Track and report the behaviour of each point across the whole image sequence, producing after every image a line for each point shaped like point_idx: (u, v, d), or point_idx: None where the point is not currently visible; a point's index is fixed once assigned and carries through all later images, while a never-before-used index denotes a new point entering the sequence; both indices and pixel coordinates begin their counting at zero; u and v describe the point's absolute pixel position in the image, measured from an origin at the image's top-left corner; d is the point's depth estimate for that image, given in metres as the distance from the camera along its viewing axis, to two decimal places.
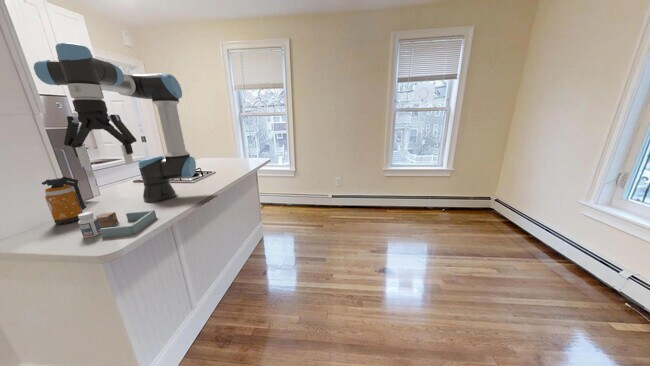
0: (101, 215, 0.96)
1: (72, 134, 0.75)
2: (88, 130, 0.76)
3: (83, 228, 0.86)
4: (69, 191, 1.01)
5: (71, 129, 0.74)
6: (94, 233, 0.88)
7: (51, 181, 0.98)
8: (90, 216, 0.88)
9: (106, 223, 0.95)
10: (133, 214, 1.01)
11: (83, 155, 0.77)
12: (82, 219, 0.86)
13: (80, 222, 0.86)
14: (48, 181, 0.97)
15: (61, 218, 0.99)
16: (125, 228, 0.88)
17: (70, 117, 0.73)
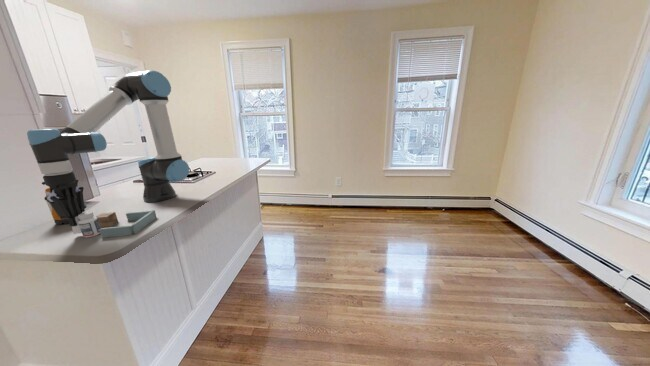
0: (101, 215, 0.96)
1: None
2: None
3: (84, 227, 0.86)
4: None
5: None
6: (94, 232, 0.88)
7: None
8: (90, 216, 0.88)
9: (106, 223, 0.95)
10: (133, 214, 1.01)
11: None
12: (82, 219, 0.86)
13: (80, 221, 0.86)
14: None
15: None
16: (125, 228, 0.88)
17: None
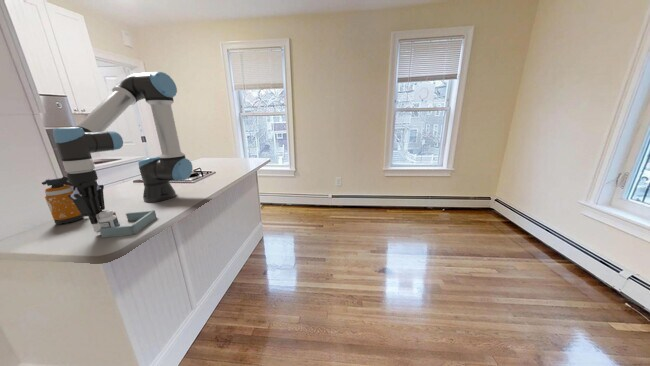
0: None
1: None
2: None
3: (103, 226, 0.87)
4: (69, 191, 1.01)
5: None
6: None
7: (51, 181, 0.98)
8: (110, 215, 0.88)
9: None
10: (133, 214, 1.01)
11: None
12: (102, 217, 0.87)
13: (100, 220, 0.87)
14: (48, 181, 0.97)
15: (61, 218, 0.99)
16: (125, 228, 0.88)
17: None
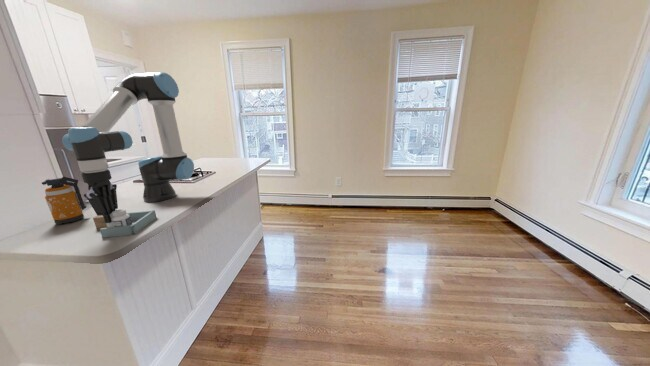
0: (101, 215, 0.96)
1: None
2: None
3: (116, 225, 0.88)
4: (69, 191, 1.01)
5: None
6: None
7: (51, 181, 0.98)
8: (122, 214, 0.89)
9: None
10: (133, 214, 1.01)
11: None
12: (115, 216, 0.88)
13: (113, 218, 0.87)
14: (48, 181, 0.97)
15: (61, 218, 0.99)
16: (125, 228, 0.88)
17: None
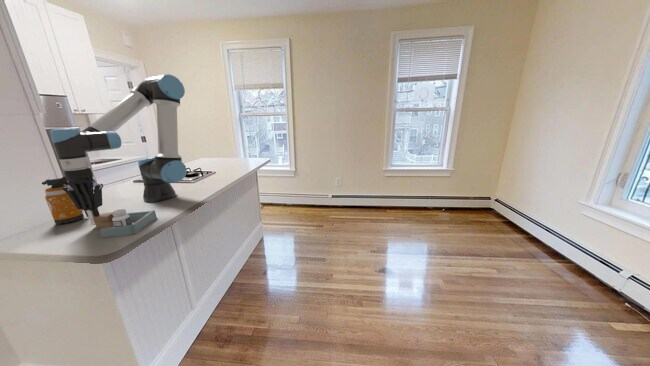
0: (101, 215, 0.96)
1: (76, 199, 0.93)
2: None
3: (116, 225, 0.88)
4: None
5: (72, 196, 0.91)
6: None
7: (51, 181, 0.98)
8: (122, 214, 0.89)
9: (107, 223, 0.95)
10: (133, 214, 1.01)
11: None
12: (115, 216, 0.88)
13: (113, 219, 0.87)
14: (48, 181, 0.97)
15: (61, 218, 0.99)
16: (125, 228, 0.88)
17: (64, 188, 0.90)
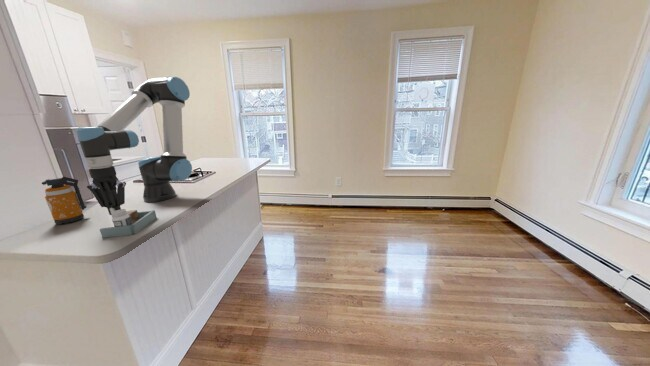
0: None
1: (100, 197, 0.94)
2: None
3: (116, 225, 0.88)
4: (69, 191, 1.01)
5: (96, 193, 0.93)
6: None
7: (51, 181, 0.98)
8: (122, 214, 0.89)
9: None
10: None
11: None
12: (115, 216, 0.88)
13: (113, 219, 0.87)
14: (48, 181, 0.97)
15: (61, 218, 0.99)
16: (125, 228, 0.88)
17: (89, 186, 0.91)
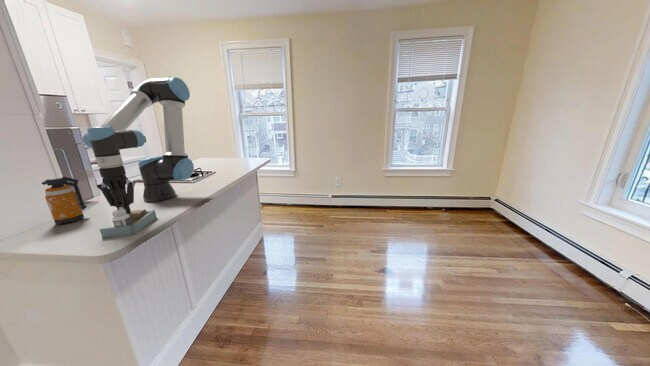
0: (133, 212, 0.97)
1: (109, 196, 0.94)
2: None
3: (116, 225, 0.88)
4: (69, 191, 1.01)
5: (106, 193, 0.93)
6: None
7: (51, 181, 0.98)
8: (122, 214, 0.89)
9: None
10: None
11: None
12: (115, 216, 0.88)
13: (113, 219, 0.87)
14: (48, 181, 0.97)
15: (61, 218, 0.99)
16: (125, 228, 0.88)
17: (98, 185, 0.92)
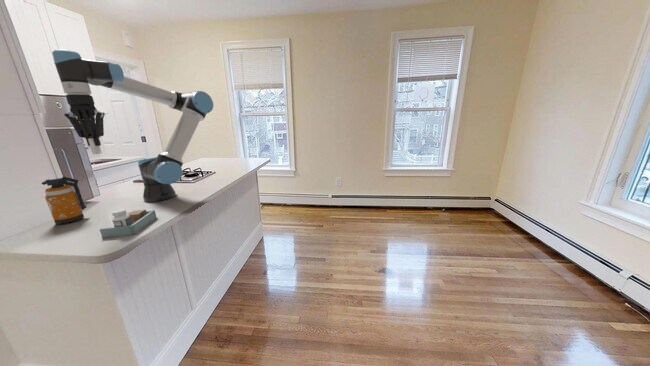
0: (133, 212, 0.97)
1: (78, 126, 0.94)
2: (85, 120, 0.94)
3: (116, 225, 0.88)
4: (69, 191, 1.01)
5: (74, 122, 0.93)
6: None
7: (51, 181, 0.98)
8: (122, 214, 0.89)
9: None
10: None
11: None
12: (115, 216, 0.88)
13: (113, 219, 0.87)
14: (48, 181, 0.97)
15: (61, 218, 0.99)
16: (125, 228, 0.88)
17: (66, 114, 0.91)
